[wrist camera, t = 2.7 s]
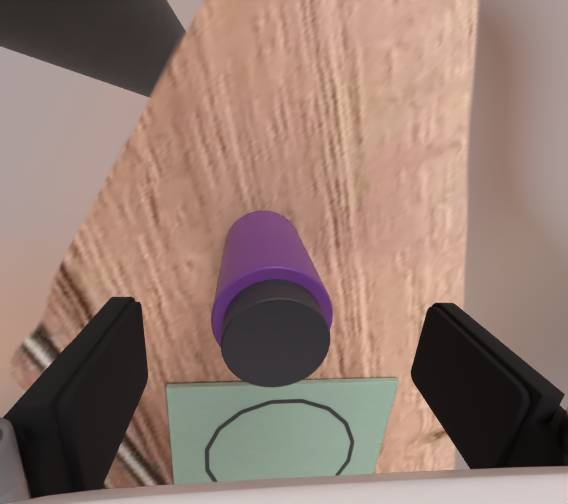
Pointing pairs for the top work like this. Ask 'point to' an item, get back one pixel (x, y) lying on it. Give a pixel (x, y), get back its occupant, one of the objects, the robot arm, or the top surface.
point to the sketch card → (277, 428)
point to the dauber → (270, 303)
